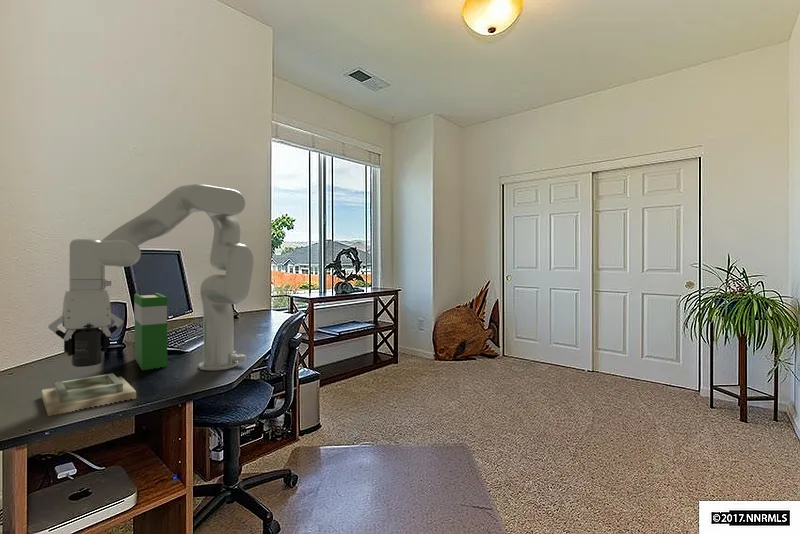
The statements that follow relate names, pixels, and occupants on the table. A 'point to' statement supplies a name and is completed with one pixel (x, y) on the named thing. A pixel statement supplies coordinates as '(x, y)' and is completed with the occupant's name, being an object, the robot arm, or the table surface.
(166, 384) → the table surface
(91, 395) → the socket board
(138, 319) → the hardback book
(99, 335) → the supplement bottle
